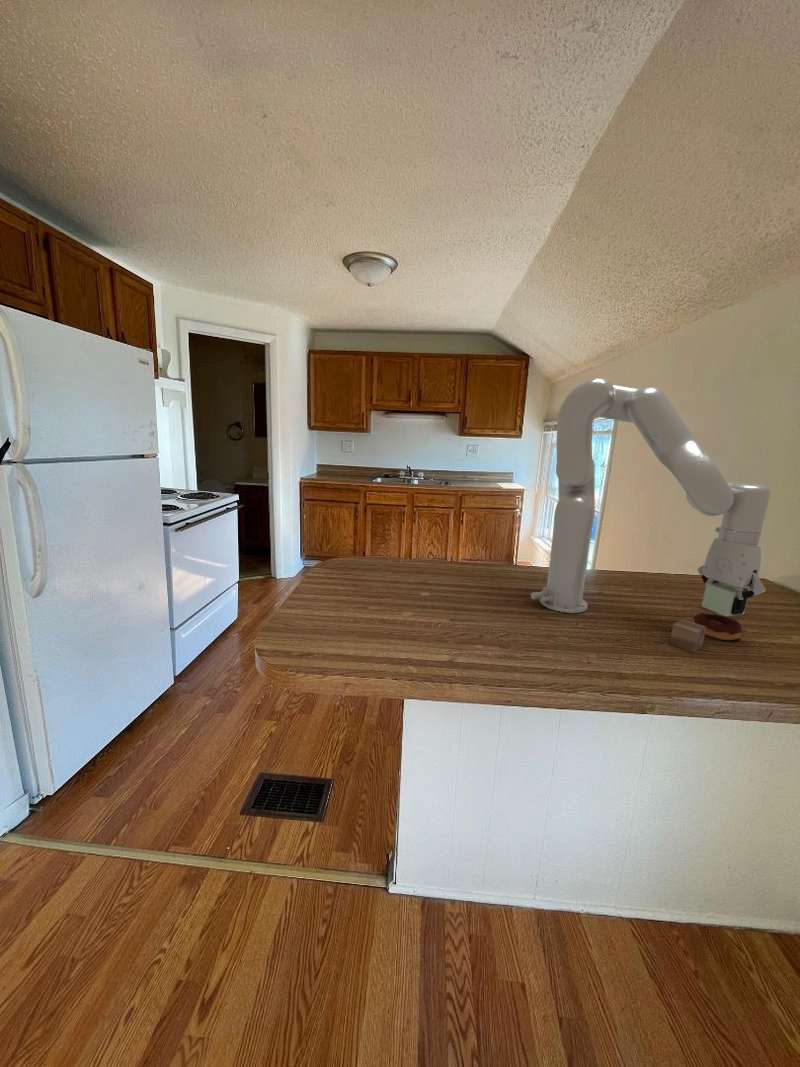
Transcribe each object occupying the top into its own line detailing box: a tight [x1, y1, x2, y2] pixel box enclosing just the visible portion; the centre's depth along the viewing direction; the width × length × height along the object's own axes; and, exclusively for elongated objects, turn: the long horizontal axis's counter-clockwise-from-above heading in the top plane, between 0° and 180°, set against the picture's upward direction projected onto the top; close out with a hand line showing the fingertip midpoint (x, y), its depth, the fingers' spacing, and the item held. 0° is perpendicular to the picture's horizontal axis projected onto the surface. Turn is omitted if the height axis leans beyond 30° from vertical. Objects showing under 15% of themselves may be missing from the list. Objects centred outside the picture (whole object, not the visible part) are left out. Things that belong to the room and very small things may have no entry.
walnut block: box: [669, 618, 706, 653], centre depth 98 cm, size 5×5×5 cm
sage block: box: [701, 582, 749, 617], centre depth 104 cm, size 6×6×6 cm
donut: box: [692, 612, 743, 641], centre depth 105 cm, size 10×10×4 cm
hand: (722, 607), depth 104 cm, fingers closed on sage block, 5 cm apart
